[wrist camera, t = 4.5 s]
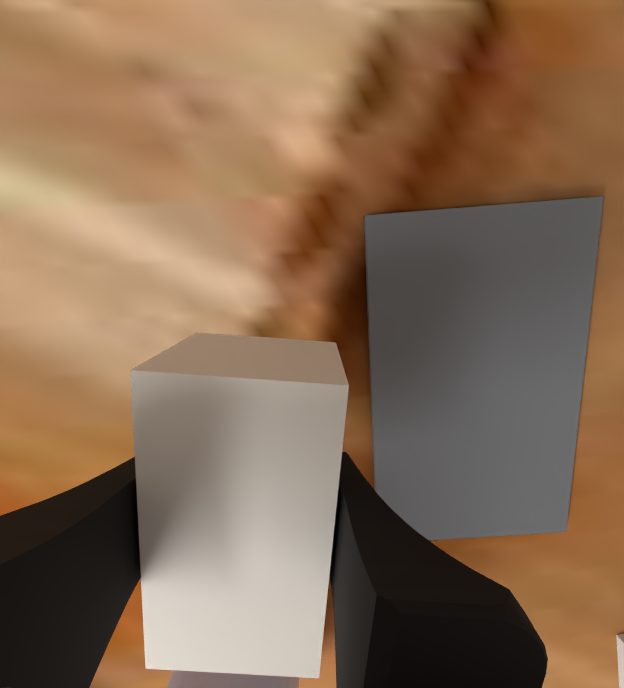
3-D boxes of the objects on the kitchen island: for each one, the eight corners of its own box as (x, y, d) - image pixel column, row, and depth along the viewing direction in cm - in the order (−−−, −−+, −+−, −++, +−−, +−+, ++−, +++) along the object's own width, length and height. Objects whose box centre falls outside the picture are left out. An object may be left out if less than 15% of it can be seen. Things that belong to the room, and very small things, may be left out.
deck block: (316, 550, 14) (318, 678, 10) (197, 543, 14) (145, 668, 10) (335, 342, 12) (348, 385, 8) (196, 332, 12) (130, 370, 8)
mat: (559, 524, 22) (566, 531, 21) (376, 536, 22) (377, 543, 22) (594, 198, 17) (603, 196, 17) (364, 217, 18) (365, 215, 17)
